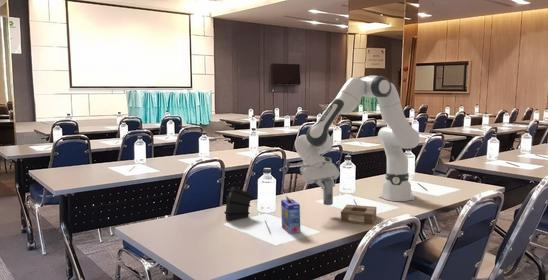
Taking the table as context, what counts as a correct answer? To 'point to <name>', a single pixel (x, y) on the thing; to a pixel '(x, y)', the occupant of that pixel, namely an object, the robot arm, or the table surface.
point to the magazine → (237, 204)
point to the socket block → (358, 214)
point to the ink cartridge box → (290, 215)
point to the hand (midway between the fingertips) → (329, 187)
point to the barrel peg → (328, 192)
